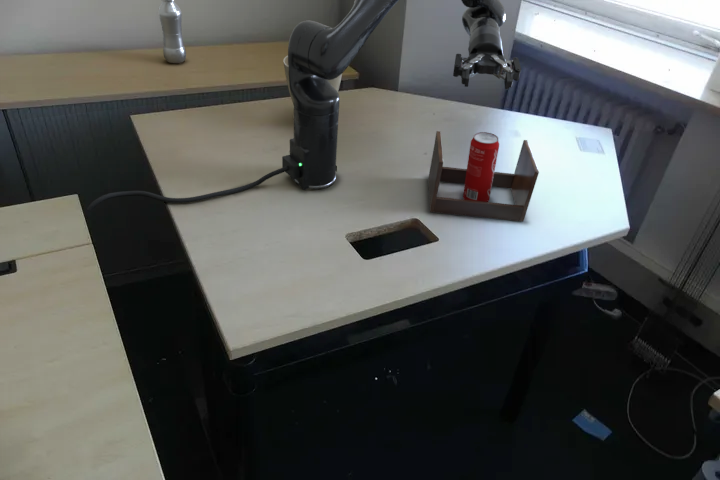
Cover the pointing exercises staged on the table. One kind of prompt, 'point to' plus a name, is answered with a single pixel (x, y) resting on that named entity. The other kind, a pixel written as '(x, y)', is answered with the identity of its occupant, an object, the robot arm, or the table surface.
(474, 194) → the beverage can
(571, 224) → the table surface
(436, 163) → the walnut crate
